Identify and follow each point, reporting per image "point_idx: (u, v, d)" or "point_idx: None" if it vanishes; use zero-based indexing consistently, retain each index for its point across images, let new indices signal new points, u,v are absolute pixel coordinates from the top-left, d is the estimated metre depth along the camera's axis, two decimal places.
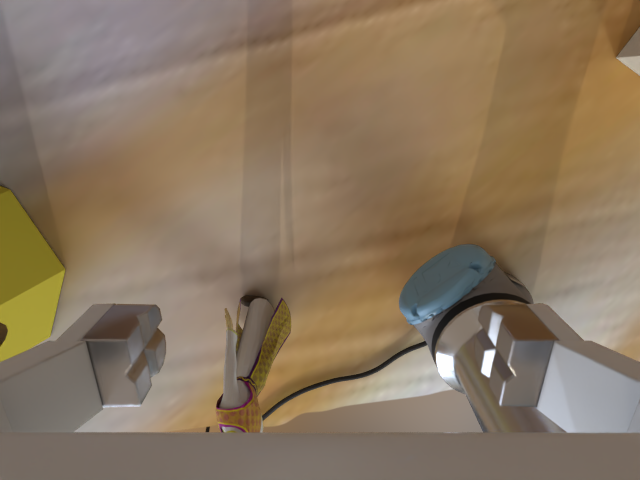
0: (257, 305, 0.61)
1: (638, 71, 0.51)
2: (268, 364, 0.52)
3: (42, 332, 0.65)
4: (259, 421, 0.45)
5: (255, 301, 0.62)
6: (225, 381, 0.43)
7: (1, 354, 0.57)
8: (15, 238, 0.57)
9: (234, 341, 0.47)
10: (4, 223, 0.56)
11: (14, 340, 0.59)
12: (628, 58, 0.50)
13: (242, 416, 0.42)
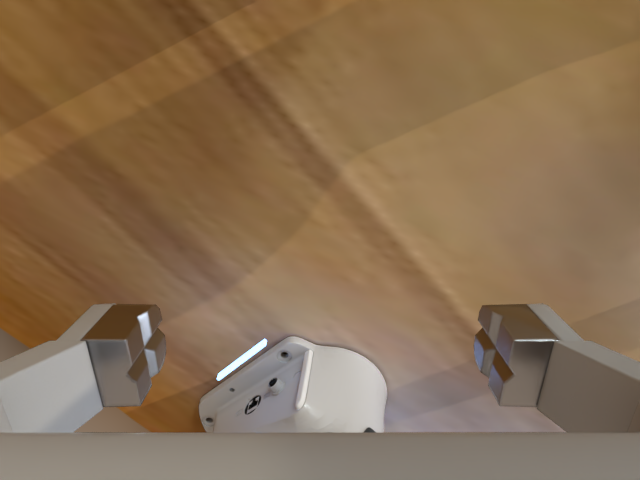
0: None
1: None
2: None
3: None
4: None
5: None
6: None
7: None
8: None
9: None
10: None
11: None
12: None
13: None
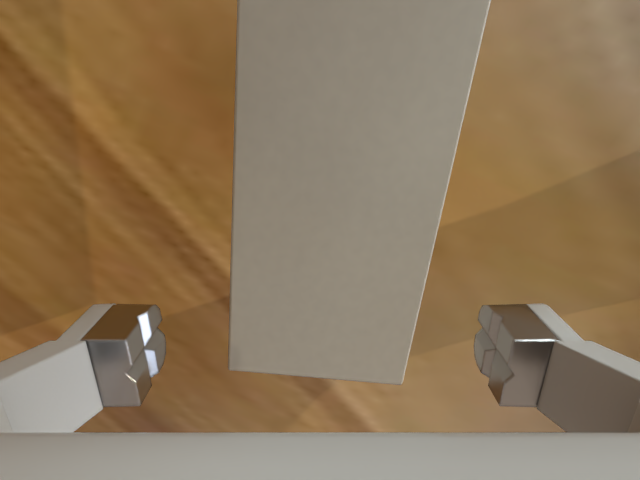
0: None
1: None
2: None
3: None
4: None
5: None
6: None
7: None
8: None
9: None
10: None
11: None
12: None
13: None
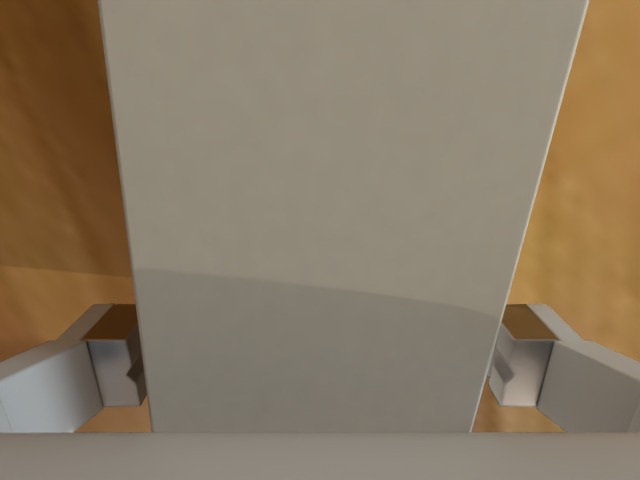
0: None
1: None
2: None
3: None
4: None
5: None
6: None
7: None
8: None
9: None
10: None
11: None
12: None
13: None
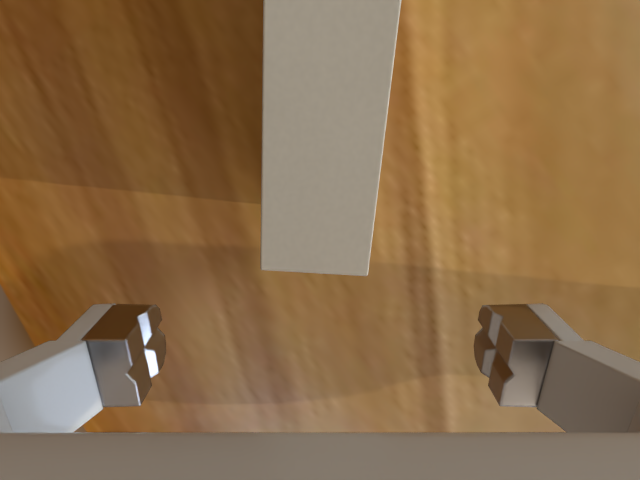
0: None
1: None
2: None
3: None
4: None
5: None
6: None
7: None
8: None
9: None
10: None
11: None
12: None
13: None
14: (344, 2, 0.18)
